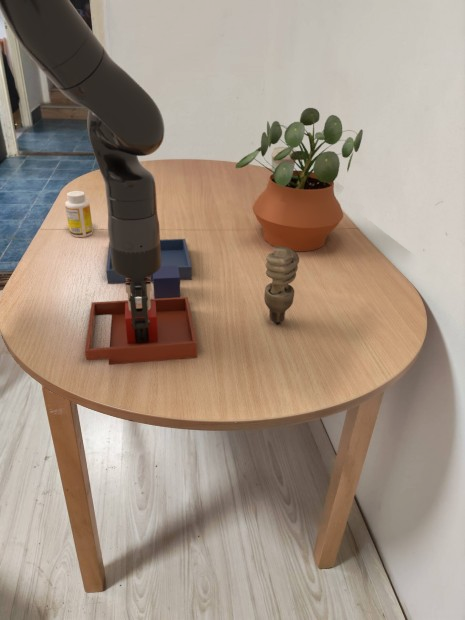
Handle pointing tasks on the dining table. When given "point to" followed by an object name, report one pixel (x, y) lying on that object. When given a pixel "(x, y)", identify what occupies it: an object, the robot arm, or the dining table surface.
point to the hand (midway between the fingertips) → (142, 329)
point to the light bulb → (280, 282)
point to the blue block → (166, 282)
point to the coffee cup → (286, 159)
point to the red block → (151, 317)
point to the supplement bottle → (78, 214)
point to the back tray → (170, 256)
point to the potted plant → (301, 184)
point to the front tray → (171, 342)
